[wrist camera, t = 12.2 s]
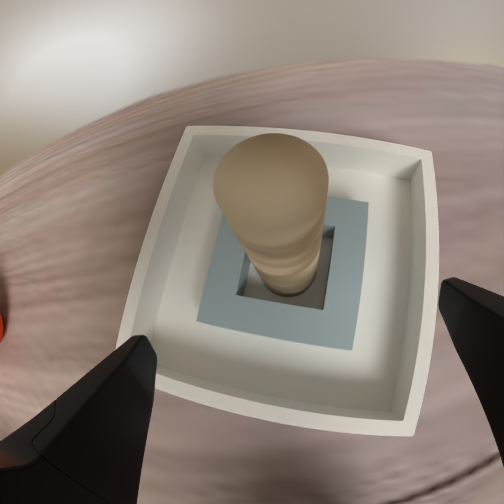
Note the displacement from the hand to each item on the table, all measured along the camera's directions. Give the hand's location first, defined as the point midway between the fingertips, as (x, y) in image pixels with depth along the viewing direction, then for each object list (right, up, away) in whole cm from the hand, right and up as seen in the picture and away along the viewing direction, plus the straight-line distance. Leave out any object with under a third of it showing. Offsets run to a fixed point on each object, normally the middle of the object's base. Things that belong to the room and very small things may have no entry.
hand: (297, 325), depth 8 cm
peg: (+1, +1, +13) cm, 13 cm away
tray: (+1, +1, +14) cm, 14 cm away
